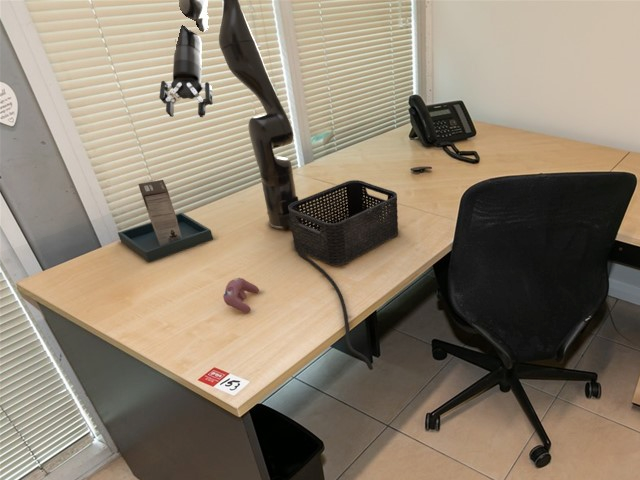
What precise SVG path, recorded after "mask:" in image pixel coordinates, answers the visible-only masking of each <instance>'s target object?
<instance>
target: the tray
mask: <svg viewBox="0 0 640 480" xmlns="http://www.w3.org/2000/svg"><path fill="white" fill-rule="evenodd" d="M175 215H176V218H177V221H178V225H179V228H180V231H181V235H182V239H179V240H176V241H173V242H171V243H168V244H165V245H162V246H160V244H159V242H158V239H157V236H156V234H155V231H154V228H153V226H152V223H151V221H150V222H147V223H144V224H141V225H136V226H134V227H131V228H127V229H123V230H122V231H119V232H117V234H118V235H117V236H118V237H119V240H120V242H121V243H122V244H123V245H125V246H126V247H127V248H128V249H130V250H131V251H133V252H134V253H135V254H137V255H138V256H139V257H141V258H142V259H144V260H145V261H147V262H148V263H152V262H154V261H157V260H159V259H162V258H165V257H168V256H170V255H174V254H176V253H179V252H182V251H184V250H187V249H191V248H192V247H197V246H199V245H201V244H204V243H207V242H209V241H212V240H214V237H213V233H212V230H211V229H210V228H209V227H207V226H205V225H203V224H202V223H200V222H198V221H196V220H195V219H194V218H191V217H190V216H189V215H186V214H185V213H184V212H179V213H175Z"/></svg>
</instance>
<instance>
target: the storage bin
mask: <svg viewBox="0 0 640 480" xmlns="http://www.w3.org/2000/svg"><path fill="white" fill-rule="evenodd" d="M368 190H370V191H373V192H376V193H379V194H382V195H385V196H387V199H383V198H380V197H377V196H376V195H375V196H374V195H372V194H369V193H368ZM298 200H299V201H296V202H294V203H291V204H290V205H289V206H288V209H289V213H290V214H289V215H290V219H291V220H290V221H291V226H292V227H291V228H292V232H291V234H292V239H293V247H294V250H295V249H297V250H299V251H300V252H301V253H302V254H303V255H305V256H307V257H310V258H313V259H316V260H317V261H320V262H323V263H325V264H326V265H330V266H335V267H337V266H342V265H343V266H344V265H346V264H348V263H350V262H352V261H354V260H355V259H357V258H358V257H361V256H363V255H364V254H366V253H368V252H369V251H371V250H373V249H375V248H377V247H378V246H381V245H382V244H384V243H386V242H388V241H389V240H391V239H393V238H395V237H397V236H398V235H399V222H398V221H399V216H398V193H397V192H395V191H393V190H391V189H387V188H384V187H381V186H377V185H375V184H371V183H369V182H366V181H363V180H358V179H351V180H348V181H345V182H342V183H340V184H339V183H338V184H337V185H335V186H332V187H330V188H327V189H324V190H322V191H319V192H317V193H313V194H312V195H309V196H307V197H304V198H301V199H298ZM297 210H298V211H297ZM298 217H299V218H298Z"/></svg>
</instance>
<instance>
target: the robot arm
mask: <svg viewBox="0 0 640 480" xmlns="http://www.w3.org/2000/svg"><path fill="white" fill-rule="evenodd" d="M178 1H179V7H180V10H181V11H182V13H183V14H184V15H185V16H186V17H188V18H190V19H192V20H194V21H196V25H197V27H198V28H199V30H200V31H202V32H204V33H206V32H207V31H208V29H209V26H208V19H209V15H207V14H208V12H207V9H208V4H209V3H208V2H209V0H178ZM207 28H208V29H207ZM206 30H207V31H206ZM205 31H206V32H205ZM218 33H219V34H218V45H219V48H220V52H221V53H222V55H223V58H224V61H225V63H226V66H227V67H228V69H229V71H230V72H231V73H232V75H233V76H234V77H235V78H236V79H237V80H238V81H239V82H240V83H241V84H243V85H244V86H245V87H246V88H247V89H248V90H249V91H251V93H253V95H255V97H256V98H257V99H258V101H259V102H260V104H261V106H262V107H263V109H264V111H265V114H262V115H257V116H253V117H251V118H250V119H249V121H248V134H249V139H250V143H251V145H252V151H253V154H254V158H255V161H256V164H257V166H258V170H259V174H260V175H259V176H260V179H261V180H260V181H261V186H262V189H263V196H264V201H265V205H266V211H267V216H268V219H269V220H268V223H269V226H270V227H271V228H273V229H275V230H284V231H289V230H290V232H291V233H292V228H291V227H292V226H291V221H290V220H291V219H290V215H289V214H290V213H289V209H288V206H289V205H290V204H291V203H294V202H296V201H299V200H300V199H299V196H297V192H296V184H295V177H294V171H293V164H292V162H291V160H290V159H289V158H287V157H284V156H280V155H275V153H274V149H275V150H276V149H279V148H282V147H285V146H289V145H291V144H292V143H293V141H294V130H293V126H292V125H291V121H290V119H289V117H288V115H287V113H286V110H285V109H284V106H283V104H282V103H281V101H280V99H279V97H278V95H277V92H276V90H275V88H274V85H273V83H272V81H271V79H270V77H269V76H270V75H269V74H268V72H267V69H266V66H265V64H264V60H263V58H262V55H261V52H260V50H259V48H258V46H257V45H258V44H257V43H256V40H255V38H254V36H253V34H252V30H251V29H250V26H249V24H248V22H247V19H246V17H245V14H244V12H243V9H242V7H241V4H240V1H239V0H222V16H221V21H220V25H219V32H218ZM202 47H203V45H202V39H201V37H200V36H199V35H198V33H196V32H194V31H191V30H188V29H187V28H186V27H185V26H183V25H182V26H181V29H180V33H179V37H178V41H177V44H176V50H175V49H174V53H173V67H172V82H166V81H165V80H162V81H161V82H160V90H159V97H158V98H159V99H160V100H161V102H162V103H163V104H164V105H165V112H166V113H167V114H168V115H169V117H172V118H173V117H174V113H175V111H174V110H175V104H176V103H177V102H179V101H180V100H181V99H183V100H186V99H189V100H194V99H195V98H196V100H197V101H198V103H197V105H198V106H197V114H198V116H199V117H200V118H204V116H206V110H207V109H206V108H207V106H208V105H210V106H211V105H213V103H214V101H213V100H214V99H213V87H212V86H211V84H210V83H209V82H208V81H206V82H205V83H202V71H203V70H202V69H203V59H202ZM202 90H203V91H204V94H205V95H204V96H205V98H203V97H202V96H201V95H200V93H201V92H202ZM297 211H298V210H297ZM298 218H299V217H298ZM294 250H295V252H296V254H297V255H298V256H300V258H302V259H303V260H305V261H306V262H307V263H309V264H311V266H313V267H314V268H315V269H317V270H318V271H319V272H320V273H321V274H322V275H323V276H324V277H325V278H326V279H327V280H328V282H329V283H330V284H331V285H332V286H333V289H334V290H335V291H336V293H337V296H338V298H339V301H340V305H341V309H342V314H343V320H344V328H345V330H344V331H345V334H344V335H345V343H346V346H347V348H348V350H349V352H350V353H352V354H353V355H354V356H357V357H358V358H360V359H362V360H363V361H364V362H365V364H366V365H367V368H368V370H370V371H372V370H374V366H373V364H372V363H371V361H370V359H369V358H368V357H367V356H366V355H364V354H363V353H361V352H359V351H357V350H355V348H354V347H353V346H352V344H351V340H350V325H349V324H350V323H349V317H348V311H347V306H346V302H345V299H344V297H343V294H342V292H341V291H340V288H339V286H338V285H337V283H336V282H335V281H334V279H333V278H332V277H331V276H330V275H329V274H328V273H327V272H326V270H324V269H323V268H322V267H321V266H319V264H317V263H316V262H315V261H313V260H312V259H311V258H309V256H307V255H306V254H304V253H302V252H300V251H299V250H297V249H295V248H294Z"/></svg>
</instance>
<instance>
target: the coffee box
mask: <svg viewBox="0 0 640 480" xmlns="http://www.w3.org/2000/svg"><path fill="white" fill-rule="evenodd" d="M138 188H139V191H140V194H141V196H142V200H143V203H144V205H145V209H146V211H147V215H148V217H149V220H150V222H151V223H152V226H153V228H154V231H155V234H156V236H157V239H158V242H159V244H160V246H162V245H165V244H168V243H171V242H173V241H176V240H179V239H182V235H181V231H180V228H179V225H178V221H177V218H176V211H175V209H174V205H173V202H172V199H171V196H170V192H169V190H168V187H167V186H166V182H165V181H164V179H159V180H152V181H145V182H142V183H138Z"/></svg>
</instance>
